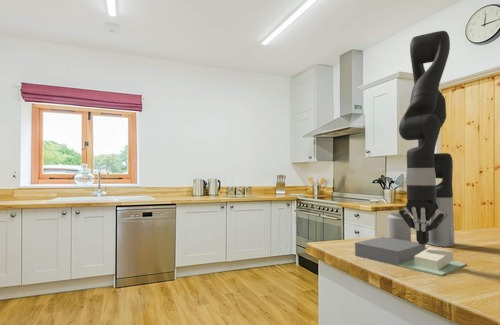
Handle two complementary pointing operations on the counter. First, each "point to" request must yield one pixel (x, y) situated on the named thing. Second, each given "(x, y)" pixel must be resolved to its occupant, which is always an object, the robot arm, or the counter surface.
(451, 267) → the mat
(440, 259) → the cream rectangular slab
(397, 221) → the can
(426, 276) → the counter surface
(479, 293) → the counter surface
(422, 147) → the robot arm
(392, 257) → the block
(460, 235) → the counter surface
